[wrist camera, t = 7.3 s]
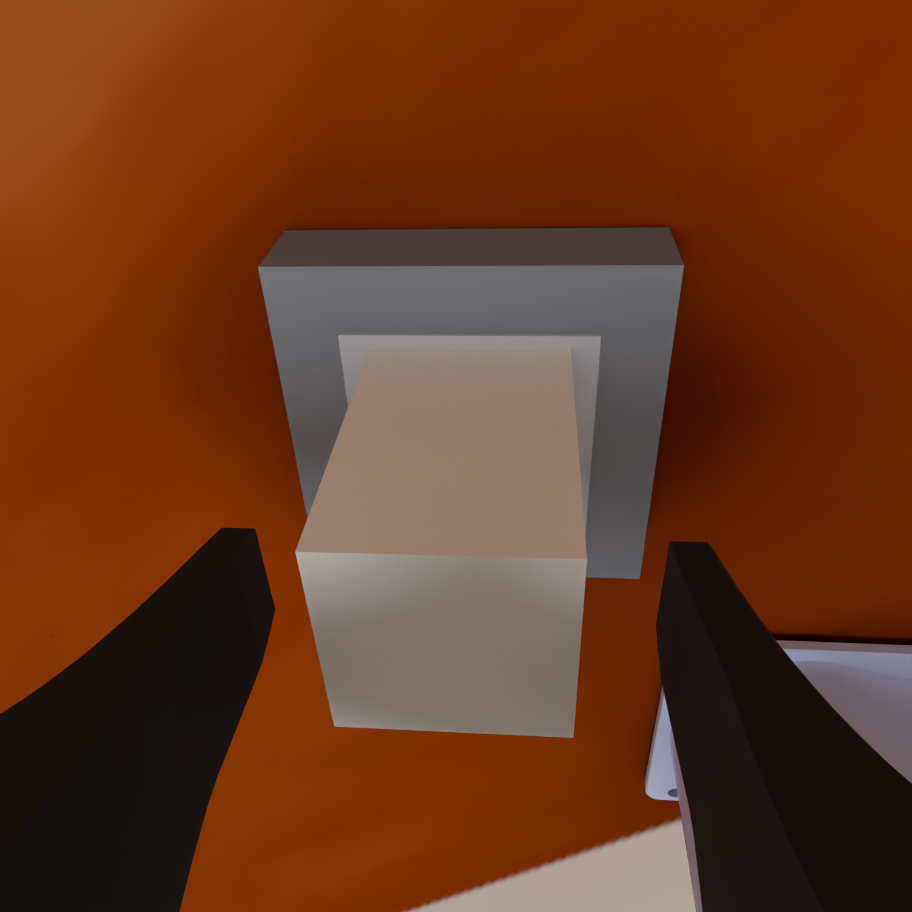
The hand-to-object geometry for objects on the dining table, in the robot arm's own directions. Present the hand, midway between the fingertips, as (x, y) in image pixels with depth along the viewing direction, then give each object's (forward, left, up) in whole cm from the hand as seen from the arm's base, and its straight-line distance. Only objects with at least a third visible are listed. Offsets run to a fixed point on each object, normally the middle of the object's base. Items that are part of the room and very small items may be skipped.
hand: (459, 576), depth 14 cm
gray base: (0, 0, -6) cm, 6 cm away
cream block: (0, 0, -4) cm, 4 cm away
